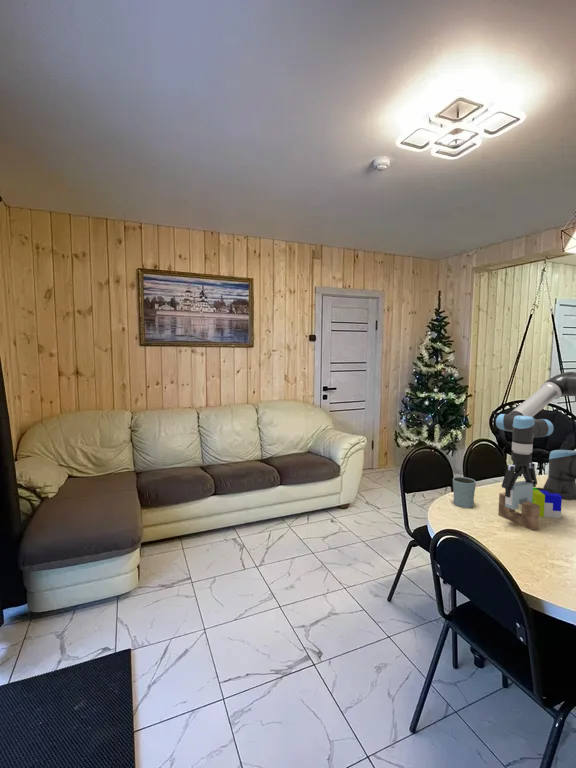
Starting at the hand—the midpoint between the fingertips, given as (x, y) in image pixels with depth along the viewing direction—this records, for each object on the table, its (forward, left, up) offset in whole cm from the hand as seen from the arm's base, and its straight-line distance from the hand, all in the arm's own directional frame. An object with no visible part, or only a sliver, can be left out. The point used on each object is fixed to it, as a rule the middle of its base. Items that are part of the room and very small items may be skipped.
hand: (518, 502), depth 162 cm
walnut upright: (0, 0, -9) cm, 9 cm away
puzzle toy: (-20, -3, -9) cm, 22 cm away
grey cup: (+7, -23, -9) cm, 26 cm away
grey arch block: (0, 0, -2) cm, 2 cm away
